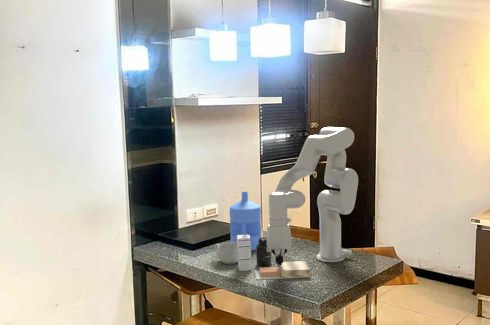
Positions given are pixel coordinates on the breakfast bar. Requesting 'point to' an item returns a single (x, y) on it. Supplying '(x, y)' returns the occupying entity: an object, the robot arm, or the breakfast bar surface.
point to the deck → (294, 269)
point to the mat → (258, 277)
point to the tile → (269, 271)
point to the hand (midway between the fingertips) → (279, 264)
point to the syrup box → (244, 252)
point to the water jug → (246, 220)
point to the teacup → (227, 252)
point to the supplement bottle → (263, 253)
